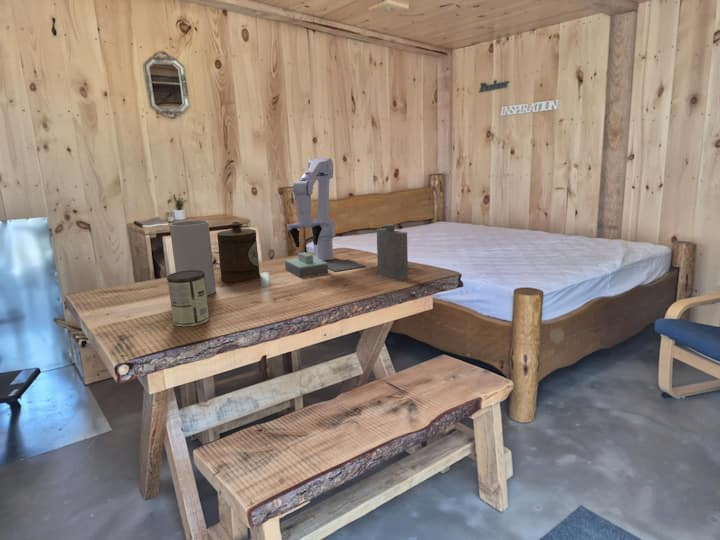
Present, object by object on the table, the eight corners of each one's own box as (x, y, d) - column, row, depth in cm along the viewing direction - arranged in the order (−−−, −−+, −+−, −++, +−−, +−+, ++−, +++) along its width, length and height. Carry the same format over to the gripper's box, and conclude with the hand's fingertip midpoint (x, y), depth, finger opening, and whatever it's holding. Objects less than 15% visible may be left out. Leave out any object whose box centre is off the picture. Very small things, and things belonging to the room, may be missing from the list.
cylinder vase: (222, 289, 174) (215, 220, 168) (203, 299, 162) (194, 225, 156) (192, 288, 177) (184, 220, 171) (171, 298, 166) (161, 225, 160)
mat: (318, 264, 207) (318, 263, 207) (348, 260, 213) (348, 259, 213) (335, 271, 193) (335, 270, 193) (365, 266, 199) (365, 266, 199)
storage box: (285, 269, 200) (285, 261, 199) (312, 265, 205) (311, 257, 204) (300, 277, 186) (299, 268, 185) (328, 273, 192) (327, 264, 191)
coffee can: (179, 315, 146) (173, 270, 143) (213, 314, 147) (208, 269, 143) (167, 327, 136) (161, 279, 133) (204, 326, 137) (198, 278, 133)
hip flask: (409, 279, 177) (408, 225, 172) (401, 281, 175) (400, 227, 170) (382, 272, 190) (381, 221, 185) (374, 274, 187) (372, 222, 183)
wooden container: (263, 279, 186) (258, 222, 181) (223, 284, 181) (217, 226, 176) (256, 271, 200) (251, 218, 194) (219, 275, 194) (213, 221, 189)
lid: (285, 262, 199) (284, 252, 198) (312, 258, 205) (311, 249, 204) (299, 270, 185) (298, 259, 184) (327, 265, 191) (327, 255, 190)
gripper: (290, 214, 183) (293, 249, 187) (325, 211, 190) (327, 245, 193) (284, 212, 189) (286, 246, 193) (318, 209, 196) (320, 242, 199)
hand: (306, 245), depth 193 cm, fingers open, 7 cm apart
